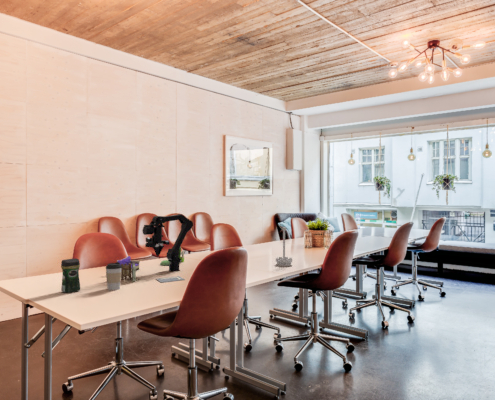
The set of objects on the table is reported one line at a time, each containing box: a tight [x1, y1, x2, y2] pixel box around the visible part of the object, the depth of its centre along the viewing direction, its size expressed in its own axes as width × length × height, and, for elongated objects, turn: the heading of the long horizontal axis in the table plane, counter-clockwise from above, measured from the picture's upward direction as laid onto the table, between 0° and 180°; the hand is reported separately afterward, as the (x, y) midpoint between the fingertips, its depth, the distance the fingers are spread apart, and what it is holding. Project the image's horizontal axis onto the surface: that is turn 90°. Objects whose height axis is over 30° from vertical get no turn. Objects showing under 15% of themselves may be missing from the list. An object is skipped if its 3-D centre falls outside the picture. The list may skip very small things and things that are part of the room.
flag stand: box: [275, 226, 293, 267], centre depth 303 cm, size 13×13×30 cm
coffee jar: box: [60, 258, 81, 294], centre depth 220 cm, size 10×8×19 cm
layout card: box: [155, 275, 185, 284], centre depth 251 cm, size 16×11×1 cm
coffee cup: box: [105, 261, 122, 291], centre depth 226 cm, size 9×9×15 cm
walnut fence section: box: [121, 263, 132, 281], centre depth 250 cm, size 11×2×10 cm, turn 120°
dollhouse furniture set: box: [159, 246, 185, 267], centre depth 312 cm, size 14×29×11 cm, turn 175°
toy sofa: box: [116, 255, 140, 274], centre depth 274 cm, size 21×9×10 cm, turn 173°
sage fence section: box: [131, 263, 137, 282], centre depth 249 cm, size 12×2×10 cm, turn 18°
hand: (157, 256), depth 271 cm, fingers closed
